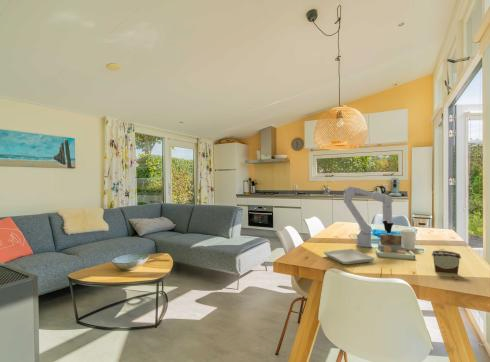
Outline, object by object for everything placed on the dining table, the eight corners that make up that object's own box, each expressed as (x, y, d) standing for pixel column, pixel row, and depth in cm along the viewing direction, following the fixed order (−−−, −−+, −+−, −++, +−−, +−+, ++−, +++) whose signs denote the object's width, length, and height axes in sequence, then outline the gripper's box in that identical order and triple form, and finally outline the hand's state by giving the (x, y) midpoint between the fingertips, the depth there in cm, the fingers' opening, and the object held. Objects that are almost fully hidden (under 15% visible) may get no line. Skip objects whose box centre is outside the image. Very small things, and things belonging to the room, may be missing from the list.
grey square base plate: (380, 252, 176) (380, 245, 176) (378, 247, 188) (378, 241, 188) (405, 254, 171) (405, 247, 171) (401, 249, 183) (401, 243, 183)
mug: (411, 245, 191) (411, 229, 191) (422, 248, 183) (422, 231, 183) (397, 247, 188) (397, 229, 188) (408, 250, 180) (407, 232, 180)
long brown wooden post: (380, 243, 181) (380, 234, 181) (380, 242, 184) (380, 234, 184) (401, 245, 177) (401, 236, 177) (400, 244, 180) (400, 235, 180)
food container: (456, 270, 139) (456, 251, 139) (461, 274, 134) (461, 254, 134) (428, 268, 143) (428, 249, 143) (432, 272, 138) (432, 252, 138)
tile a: (383, 252, 173) (384, 253, 171) (383, 245, 173) (384, 246, 171) (390, 252, 172) (391, 253, 169) (390, 246, 172) (391, 247, 169)
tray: (377, 256, 165) (377, 252, 165) (375, 251, 176) (375, 248, 176) (415, 259, 158) (415, 255, 158) (410, 254, 169) (410, 250, 169)
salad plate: (343, 267, 147) (343, 261, 147) (322, 256, 168) (322, 251, 167) (376, 263, 153) (376, 257, 153) (351, 254, 173) (351, 248, 173)
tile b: (396, 250, 169) (396, 254, 169) (397, 251, 165) (397, 255, 165) (403, 250, 167) (403, 254, 167) (405, 252, 164) (405, 256, 164)
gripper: (395, 213, 181) (396, 234, 181) (392, 211, 195) (392, 230, 195) (383, 213, 184) (384, 233, 184) (381, 211, 197) (381, 229, 197)
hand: (387, 231), depth 189 cm, fingers open, 7 cm apart
